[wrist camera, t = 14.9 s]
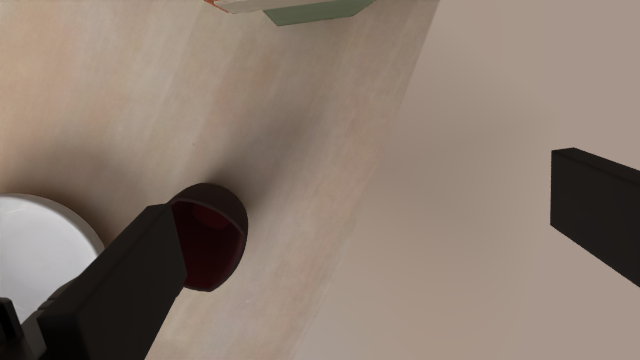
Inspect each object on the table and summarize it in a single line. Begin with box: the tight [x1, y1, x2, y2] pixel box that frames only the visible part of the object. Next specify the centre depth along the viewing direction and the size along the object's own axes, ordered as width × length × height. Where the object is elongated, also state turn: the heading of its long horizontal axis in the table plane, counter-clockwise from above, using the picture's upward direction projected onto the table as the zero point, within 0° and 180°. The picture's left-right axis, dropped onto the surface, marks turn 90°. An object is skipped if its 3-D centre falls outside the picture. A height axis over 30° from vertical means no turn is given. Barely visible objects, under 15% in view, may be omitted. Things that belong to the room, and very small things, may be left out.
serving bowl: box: [0, 193, 105, 324], centre depth 55 cm, size 21×21×7 cm
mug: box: [167, 183, 248, 297], centre depth 52 cm, size 10×14×12 cm
